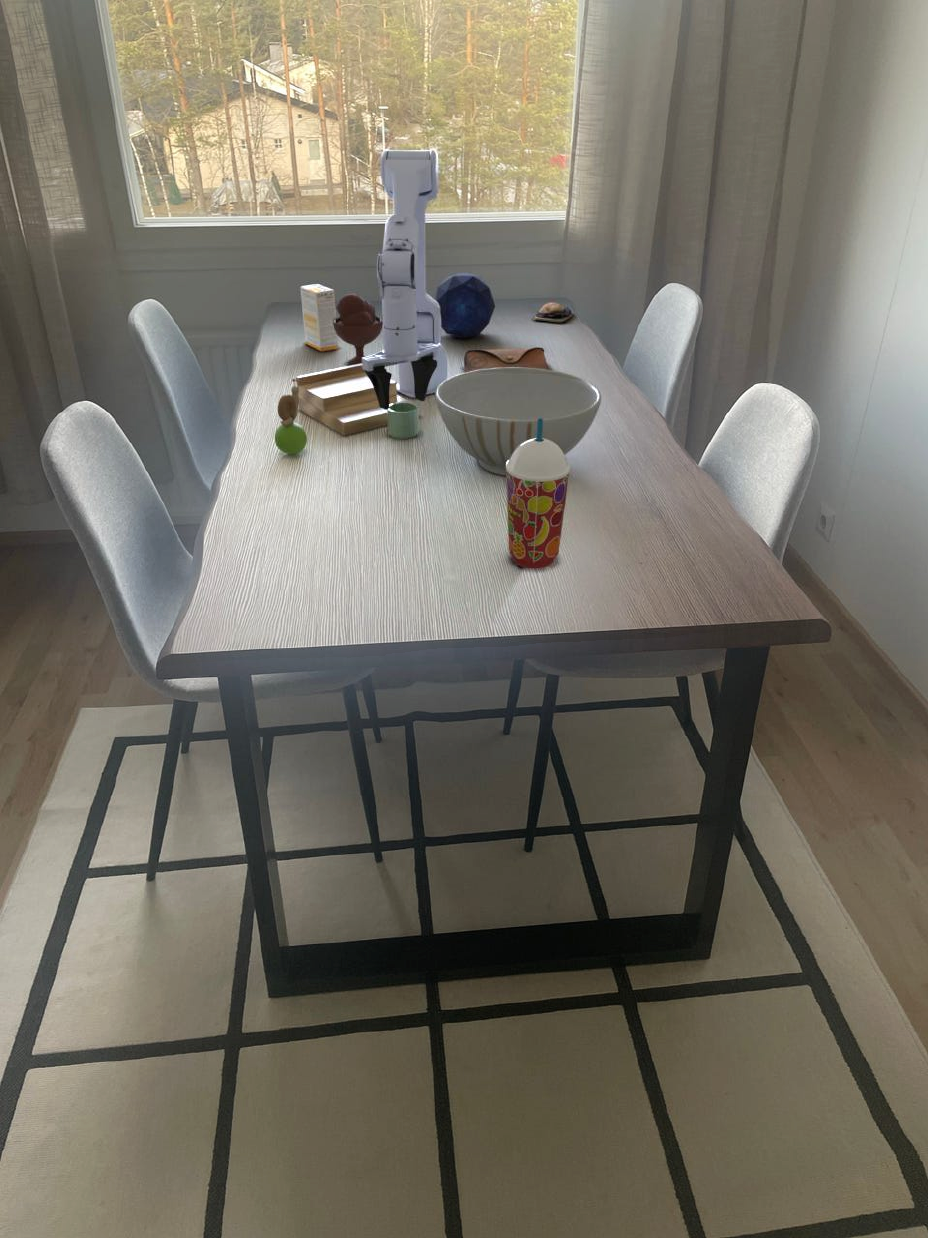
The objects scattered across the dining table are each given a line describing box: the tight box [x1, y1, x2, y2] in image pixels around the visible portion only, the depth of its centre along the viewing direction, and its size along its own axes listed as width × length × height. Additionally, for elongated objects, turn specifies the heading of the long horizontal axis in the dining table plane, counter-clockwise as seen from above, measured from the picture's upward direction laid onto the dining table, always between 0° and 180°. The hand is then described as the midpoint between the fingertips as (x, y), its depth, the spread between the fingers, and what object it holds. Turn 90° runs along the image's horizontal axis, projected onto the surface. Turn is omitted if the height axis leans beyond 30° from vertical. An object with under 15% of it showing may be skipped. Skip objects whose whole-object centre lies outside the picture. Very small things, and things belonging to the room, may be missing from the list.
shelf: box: [295, 363, 419, 437], centre depth 173 cm, size 17×16×6 cm
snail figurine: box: [274, 378, 308, 455], centre depth 155 cm, size 5×6×12 cm
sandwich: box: [533, 302, 573, 323], centre depth 235 cm, size 11×8×4 cm
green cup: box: [387, 402, 420, 440], centre depth 165 cm, size 6×6×5 cm
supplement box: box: [299, 283, 339, 352], centre depth 210 cm, size 8×5×13 cm, turn 34°
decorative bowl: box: [434, 367, 602, 476], centre depth 152 cm, size 27×27×12 cm
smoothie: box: [505, 418, 572, 570], centre depth 121 cm, size 8×8×20 cm
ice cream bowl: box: [333, 293, 383, 366], centre depth 198 cm, size 11×11×15 cm
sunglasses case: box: [463, 346, 550, 373], centre depth 198 cm, size 18×7×7 cm
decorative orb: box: [433, 271, 496, 340], centre depth 218 cm, size 14×15×15 cm
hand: (402, 403), depth 163 cm, fingers open, 7 cm apart
